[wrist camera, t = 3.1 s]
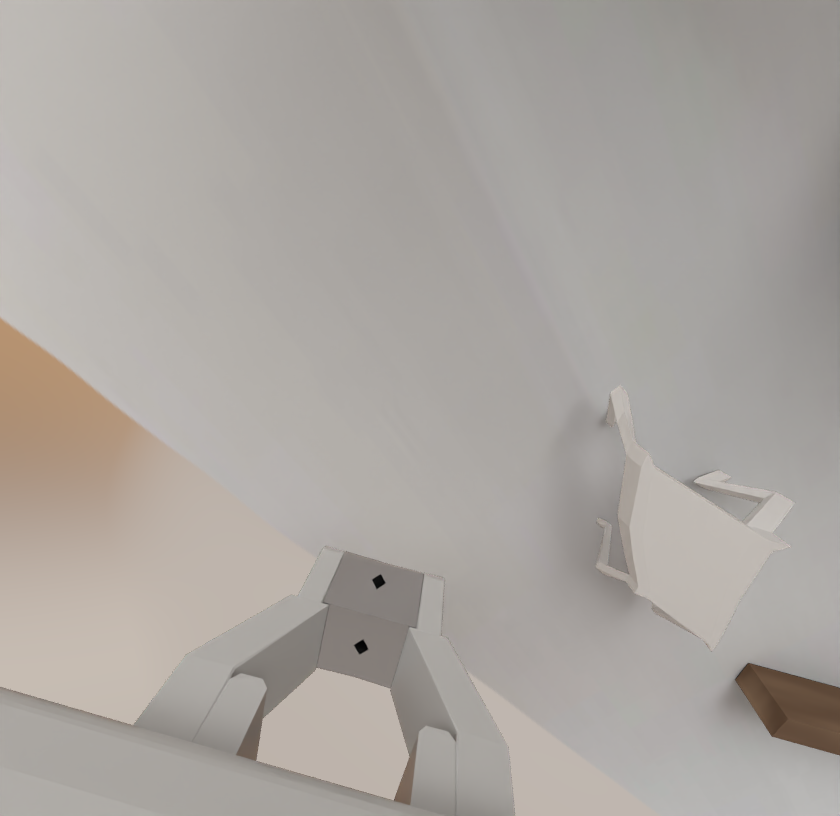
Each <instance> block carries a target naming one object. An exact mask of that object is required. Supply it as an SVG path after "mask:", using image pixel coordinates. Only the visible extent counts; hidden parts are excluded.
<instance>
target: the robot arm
mask: <svg viewBox="0 0 840 816" xmlns="http://www.w3.org/2000/svg"><path fill="white" fill-rule="evenodd" d="M444 587H445V580H444V578H443V577H439V576H435V575H431V574H427V573H422V572H418V571H414V570H410V569H407V568H403V567H399V566H395V565H391V564H388V563H384V562H380V561H377V560H374V559H370V558H367V557H364V556H360V555H357V554H354V553H350V552H347V551H346V552H345V551H342V550H339V549H336V548H332V547H329V546H325V547H324V548H323V549H322V551H321V552H320V554H319V556H318V558H317V560H316V562H315V564H314V566H313V568H312V570H311V572H310V573H309V575H308V577H307V579H306V581H305V583H304V585H303V587H302V589H301V590H300V592H299V594H298V596H295V595H290V596H288V597H286V598H284V599H283V600H281V601H279V602H277V603H275V604H274V605H272V606H270V607H268V608H267V609H265V610H263V611H261V612H260V613H258V614H256V615H254V616H253V617H251V618H249V619H247V620H246V621H244V622H242V623H240V624H239V625H237V626H235V627H234V628H232V629H230V630H228V631H226V632H225V633H223V634H221V635H220V636H218V637H216V638H214V639H212V640H211V641H209V642H207V643H205V644H204V645H202V646H200V647H198V648H197V649H195V650H193V651H191V652H190V653H188V654H186V655H185V656H184V658H183V659H182V660H181V662H180V663H179V665H178V666H177V667H176V668H175V670H174V672H172V674H171V675H170V677H169V678H168V679H167V681H166V682H165V683H164V685H163V686H162V687H161V689H160V690H159V691H158V693H157V694H156V695H155V697H154V698H153V699H152V701H151V702H150V703H149V705H148V706H147V707H146V709H145V710H144V711H143V713H142V714H141V715H140V717H139V718H138V720H137V721H136V722H135V723H134V725H130V724H127V723H123V722H120V721H116V720H113V719H110V718H106V717H102V716H99V715H95V714H92V713H89V712H85V711H82V710H78V709H75V708H71V707H68V706H65V705H61V704H58V703H54V702H51V701H47V700H44V699H41V698H37V697H34V696H30V695H27V694H23V693H20V692H16V691H13V690H9V689H6V688H3V687H0V816H515V808H514V798H513V787H512V777H511V766H510V756H509V747H508V745H507V743H506V742H505V740H504V738H503V736H502V734H501V732H500V731H499V729H498V727H497V725H496V723H495V722H494V720H493V718H492V716H491V715H490V713H489V711H488V709H487V708H486V705H485V704H484V702H483V700H482V698H481V696H480V695H479V693H478V691H477V689H476V688H475V686H474V684H473V682H472V680H471V679H470V677H469V675H468V673H467V671H466V670H465V668H464V666H463V664H462V662H461V661H460V659H459V657H458V655H457V653H456V652H455V650H454V648H453V646H452V644H451V643H450V641H449V639H448V638H447V637H443V636H442V620H443V603H444ZM316 668H320V669H325V670H329V671H333V672H337V673H341V674H345V675H349V676H353V677H356V678H360V679H362V680H366V681H369V682H372V683H375V684H378V685H381V686H385V687H388V688H391V690H390V691H391V695H392V698H393V702H394V705H395V708H396V712H397V715H398V719H399V722H400V725H401V729H402V732H403V736H404V739H405V743H406V746H407V749H408V753H409V756H410V758H409V760H408V763H407V766H406V768H405V771H404V774H403V777H402V779H401V782H400V785H399V788H398V790H397V793H396V796H395V799H394V801H393V800H390V799H386V798H383V797H379V796H376V795H372V794H369V793H366V792H362V791H359V790H355V789H352V788H348V787H345V786H341V785H338V784H335V783H331V782H328V781H324V780H321V779H317V778H314V777H310V776H307V775H303V774H300V773H296V772H293V771H289V770H286V769H283V768H279V767H276V766H272V765H268V764H265V763H262V762H258V761H256V759H257V752H258V746H259V739H260V732H261V726H262V719H263V718H264V717H265V716H266V715H267V714H268V713H269V712H271V711H272V710H273V708H275V707H276V706H277V705H278V704H279V703H280V702H281V701H282V700H284V699H285V698H286V697H287V696H288V695H289V694H290V693H291V692H292V691H293V690H294V689H295V688H297V687H298V686H299V685H300V684H301V683H302V682H303V681H304V680H305V679H306V678H308V677H309V676H310V675H311V674H312V673H313V672H314V671H315V670H316Z"/></svg>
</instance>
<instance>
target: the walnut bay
mask: <svg viewBox="0 0 840 816" xmlns="http://www.w3.org/2000/svg"><path fill="white" fill-rule="evenodd" d="M736 682H737V683H738V685H739V686H740V688H741V689H742V691H743V693H744V694H745V696H746V697H747V699H748V700H749V702H750V703H751V705H752V706H753V708H754V710H755V711H756V713H757V714H758V716H759V717H760V719H761V720H762V722H763V723H764V725H765V726H766V728H767V730H768V731H769V733H770V734H771V736H772V737H776V738H779V739H783V740H787V741H790V742H794V743H797V744H801V745H805V746H808V747H812V748H815V749H819V750H823V751H826V752H830V753H833V754H837V755H840V688H838V687H834V686H831V685H827V684H823V683H820V682H816V681H812V680H809V679H805V678H801V677H798V676H794V675H790V674H787V673H783V672H779V671H776V670H772V669H768V668H764V667H761V666H757V665H753V664H750V663H748V664H747V666H746V667H745V668H744V669H743V671H742V672H741V673H740V675H739V676H738V677H737V678H736Z"/></svg>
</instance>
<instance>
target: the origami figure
mask: <svg viewBox="0 0 840 816" xmlns="http://www.w3.org/2000/svg"><path fill="white" fill-rule="evenodd" d="M616 421H617V425H618V428H619V431H620V435H621V438H622V442H623V445H624V449H625V452H626V460H625V467H624V473H623V480H622V487H621V494H620V500H619V507H618V514H617V517H618V523H619V528H620V534H621V540H622V545H623V550H624V554H625V559H626V563H627V567H628V572H629V574H626V573H624V572H622V571H619V570H617V569H614V568H612V567H610V566H608V561H609V551H610V542H611V532H612V526H611V525H610V524H609V523H608V522H607V521H605V520H603V519H600V518H598V519H597V521H596V523H598V524H599V525H600V526H601V527H602V528H605V530H604V534H603V538H602V542H601V546H600V550H599V555H598V559H597V563H596V568H597V569H598V570H599V571H600V572H601V573H602V574H604V575H606V576H609V577H612V578H616V579H619V580H622V581H625V582H627V584H628V585H629V587H630V588H631V589H632V591H633V592H634V593H635V594H637V595H640V596H642V597H645V598H647V599H648V600H650V601H651V602H652V610H653V611H654V612H655V613H656V614H657V615H659V616H661V617H663V618H665V619H666V620H668V621H670V622H672V623H674V624H676V625H677V626H679V627H681V628H683V629H685V630H687V631H688V632H690V633H692V634H694V635H696V636H697V637H699V638H701V639H702V640H703V641H704V642H705V644H706V645H707V646H708V648H709V649H710V651H711V652H712V651H713V650H714V648H715V647H716V646H717V645H718V643H719V641H720V639H721V637H722V636H723V634H724V632H725V630H726V628H727V626H728V624H729V623H730V620H731V618H732V616H733V614H734V612H735V610H736V608H737V606H738V604H739V602H740V600H741V598H742V597H743V595H744V594H745V592H746V591H747V589H748V588H749V586H750V585H751V583H752V582H753V580H754V579H755V577H756V576H757V574H758V573H759V571H760V570H761V568H762V567H763V565H764V563H765V562H766V560H767V559H768V557H769V556H770V554H771V553H772V552H775V551H778V550H782V549H786V548H789V547H791V546H790V545H789V544H787V543H786V542H784V541H783V540H782V539H780V538H779V537H778V536H776V535H775V534H774V533H773V532H774V530H775V529H776V528H777V527H778V525H779V524H780V523H781V521H782V520H783V519H784V518H785V516H786V515H787V514H788V512H789V511H790V509H791V508H792V507H793V505H794V504H795V502H793V501H792V500H790V499H788V498H786V497H785V496H783V495H781V494H779V493H778V492H774V491H769V490H763V489H757V488H752V487H746V486H741V485H735V484H730V483H724V482H725V481H727V480H728V479H730V478H731V477H730V476H728V475H727V474H725V473H724V472H722V471H720V470H717V471H714V472H712V473H709V474H706V475H704V476H701V477H698V478H697V479H696V480H695V481H694V483H696V484H697V485H699V486H701V487H702V488H704V489H708V490H712V491H716V492H719V493H723V494H727V495H731V496H735V497H739V498H743V499H746V500H750V501H754V502H758V503H760V504H759V505H758V506H757V507H756V508H755V509H754V510H753V511H752V512H751V513H750V514H749V515H748V516H747V517H746V518H745V519H744V520H743V521H740V520H739V519H737V518H736V517H734V516H733V515H731V514H729V513H728V512H726V511H725V510H723V509H722V508H720V507H719V506H717V505H715V504H714V503H712V502H711V501H709V500H708V499H706V498H704V497H703V496H701V495H700V494H698V493H697V492H695V491H693V490H692V489H690V488H689V487H687V486H686V485H684V484H683V483H681V482H679V481H678V480H676V479H675V478H673V477H672V476H670V475H668V474H667V473H665V472H664V471H662V470H661V469H659V468H658V467H656V466H655V465H654V463H653V461H652V458H651V456H650V454H649V452H647V451H646V450H645V449H643V448H642V447H641V446H639V445H638V444H637V443H636V438H635V432H634V426H633V421H632V415H631V409H630V403H629V397H628V394H627V392H626V391H625V390H624V388H623V387H622V386H621V385H620V386H618V387H617V388H616V389H614V390H613V391H612V392H610V398H609V404H608V411H607V418H606V423H607V424H608V425H609V426H611V427H613V426H614V424H615V423H616Z"/></svg>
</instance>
